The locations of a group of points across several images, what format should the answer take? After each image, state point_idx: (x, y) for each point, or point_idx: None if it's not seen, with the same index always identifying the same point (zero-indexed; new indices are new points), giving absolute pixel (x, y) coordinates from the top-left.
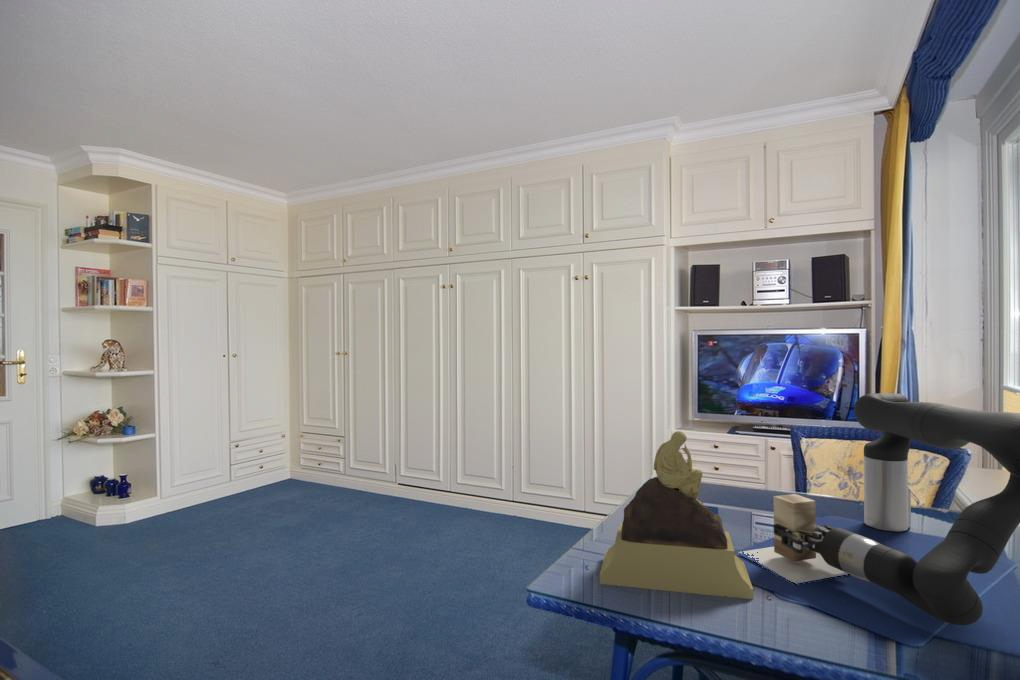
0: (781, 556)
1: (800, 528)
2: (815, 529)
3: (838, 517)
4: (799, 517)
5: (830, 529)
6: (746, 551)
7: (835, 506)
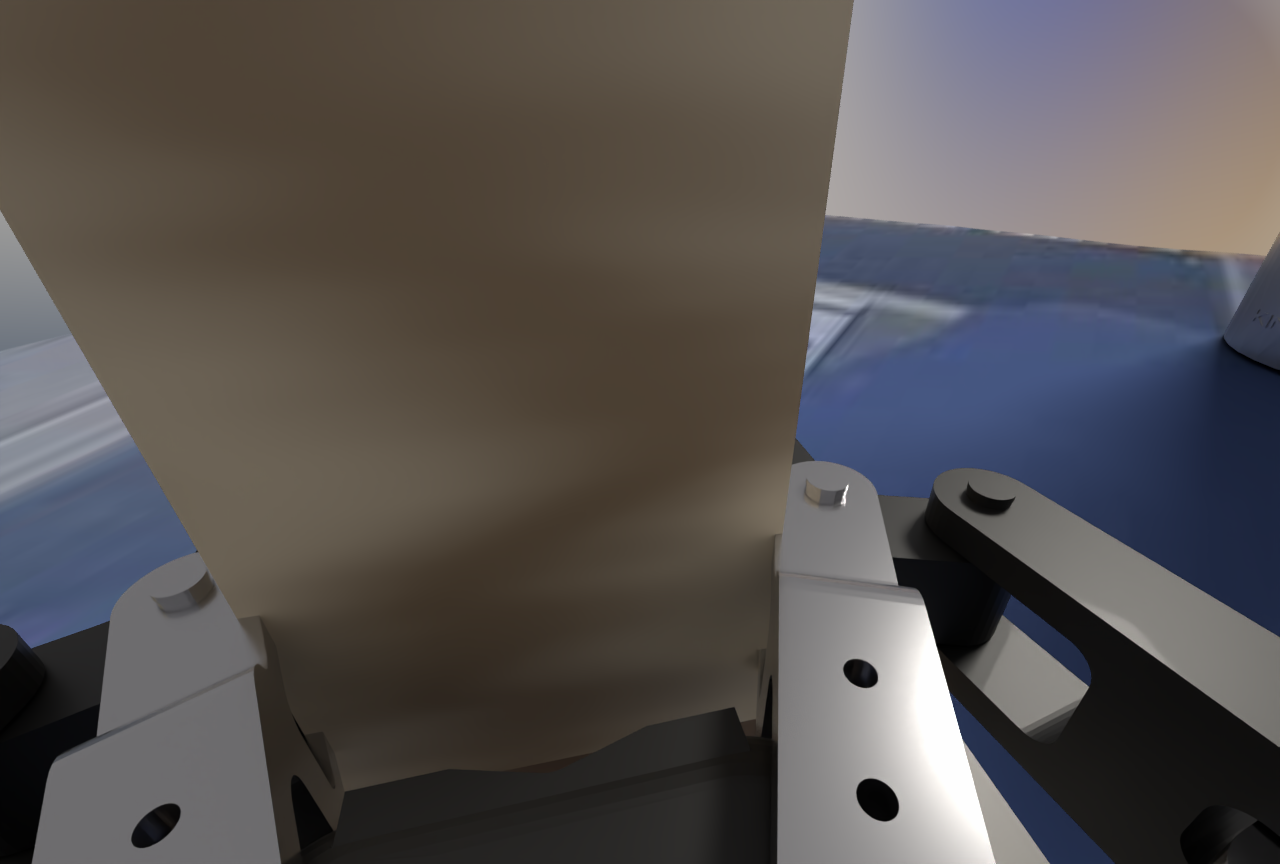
0: None
1: (419, 577)
2: (772, 568)
3: (1092, 311)
4: (320, 371)
5: (1067, 621)
6: None
7: (1087, 268)
